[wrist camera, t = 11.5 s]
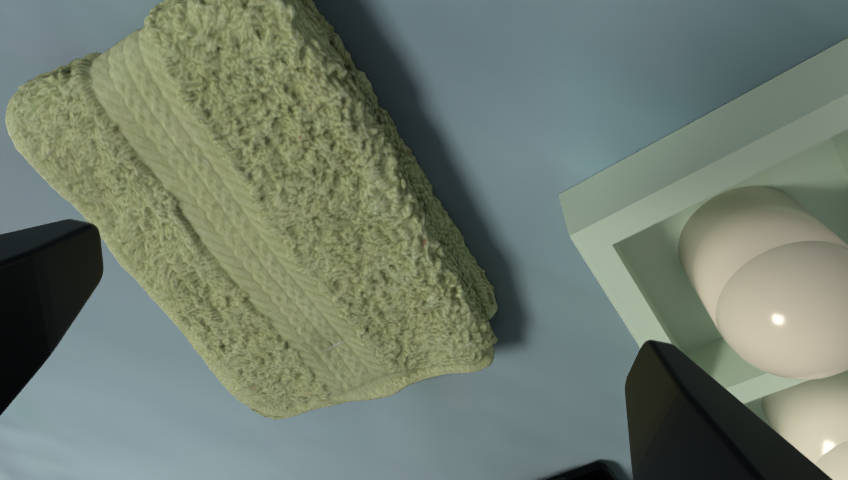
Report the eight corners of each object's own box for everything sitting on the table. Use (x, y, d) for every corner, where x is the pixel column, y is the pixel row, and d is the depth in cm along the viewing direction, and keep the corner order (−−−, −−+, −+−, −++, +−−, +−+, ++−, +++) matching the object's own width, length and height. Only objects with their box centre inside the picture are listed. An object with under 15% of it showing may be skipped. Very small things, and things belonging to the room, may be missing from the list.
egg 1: (825, 259, 21) (944, 375, 15) (706, 310, 22) (776, 432, 17) (783, 162, 19) (899, 253, 14) (658, 224, 21) (718, 328, 15)
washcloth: (278, 408, 29) (255, 460, 26) (22, 93, 22) (-45, 117, 19) (520, 323, 25) (524, 374, 22) (300, -89, 18) (267, -93, 15)
